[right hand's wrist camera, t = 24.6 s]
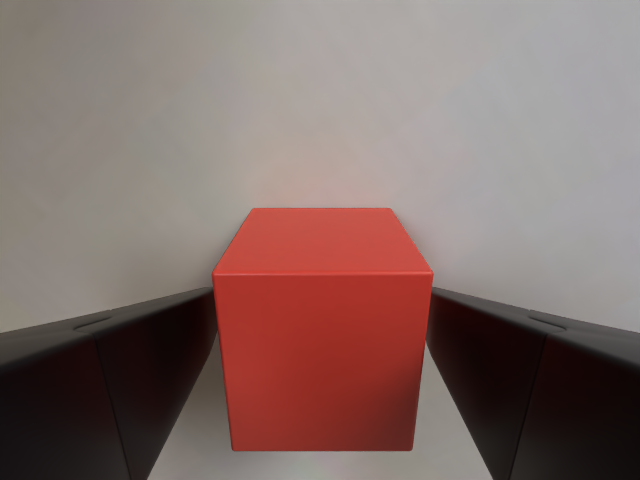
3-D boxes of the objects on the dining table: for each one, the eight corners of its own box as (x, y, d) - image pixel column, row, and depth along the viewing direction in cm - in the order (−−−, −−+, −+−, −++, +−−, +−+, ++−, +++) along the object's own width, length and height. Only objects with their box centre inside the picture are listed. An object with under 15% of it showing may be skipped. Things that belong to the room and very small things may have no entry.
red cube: (260, 336, 14) (230, 452, 9) (252, 207, 12) (210, 272, 8) (382, 336, 14) (413, 453, 9) (391, 207, 12) (435, 272, 8)
